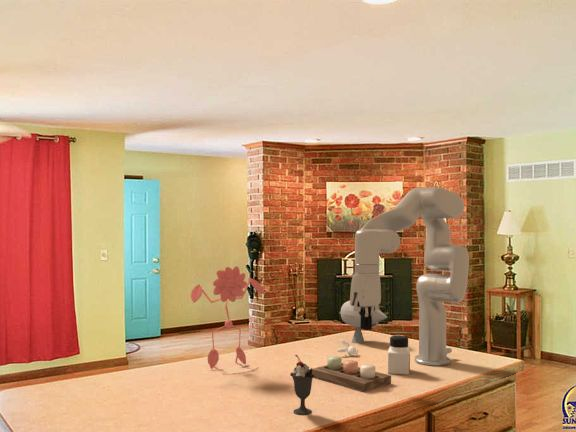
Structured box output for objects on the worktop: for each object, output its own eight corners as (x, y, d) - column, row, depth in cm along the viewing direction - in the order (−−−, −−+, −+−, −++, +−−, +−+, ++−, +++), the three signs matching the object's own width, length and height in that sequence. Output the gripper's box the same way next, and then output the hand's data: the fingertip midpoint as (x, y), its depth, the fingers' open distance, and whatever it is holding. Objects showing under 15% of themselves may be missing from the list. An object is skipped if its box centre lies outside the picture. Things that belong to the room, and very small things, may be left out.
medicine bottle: (409, 375, 189) (410, 338, 189) (387, 373, 191) (388, 337, 191) (409, 369, 196) (409, 334, 196) (388, 368, 198) (388, 333, 198)
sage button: (334, 366, 191) (334, 355, 191) (344, 368, 188) (344, 358, 188) (324, 368, 188) (324, 357, 188) (334, 371, 185) (334, 360, 185)
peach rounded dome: (349, 370, 186) (350, 359, 186) (360, 373, 183) (360, 362, 183) (340, 372, 183) (340, 361, 183) (351, 375, 180) (351, 364, 180)
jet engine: (355, 349, 226) (355, 304, 226) (336, 338, 245) (336, 297, 245) (389, 346, 230) (389, 303, 230) (368, 336, 250) (368, 296, 250)
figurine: (186, 366, 198) (188, 265, 198) (256, 359, 209) (257, 263, 208) (199, 379, 184) (201, 270, 184) (273, 370, 195) (275, 268, 195)
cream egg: (366, 374, 181) (366, 363, 181) (378, 377, 178) (378, 366, 178) (357, 377, 178) (357, 366, 178) (368, 380, 175) (368, 369, 175)
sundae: (288, 408, 156) (289, 352, 156) (313, 407, 157) (313, 352, 157) (291, 416, 150) (291, 358, 150) (316, 415, 150) (316, 358, 150)
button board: (338, 369, 196) (338, 362, 196) (391, 383, 179) (391, 375, 179) (311, 376, 187) (311, 368, 187) (364, 392, 171) (364, 383, 171)
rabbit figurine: (357, 358, 212) (337, 347, 213) (353, 363, 215) (334, 353, 216) (361, 346, 217) (342, 336, 218) (357, 352, 219) (338, 342, 220)
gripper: (372, 268, 186) (372, 324, 186) (341, 270, 176) (340, 330, 176) (391, 269, 180) (390, 328, 180) (360, 271, 170) (359, 333, 170)
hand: (366, 329), depth 178 cm, fingers closed
